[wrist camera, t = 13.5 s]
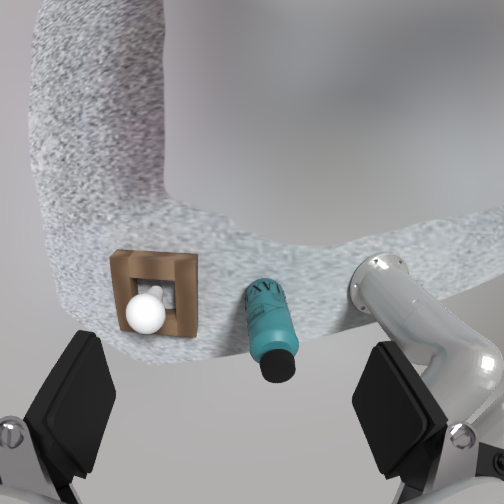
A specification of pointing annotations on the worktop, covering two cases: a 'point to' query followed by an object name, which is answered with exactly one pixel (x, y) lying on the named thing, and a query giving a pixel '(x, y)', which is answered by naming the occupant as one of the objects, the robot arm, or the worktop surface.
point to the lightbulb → (146, 311)
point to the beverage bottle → (271, 330)
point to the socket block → (161, 268)
